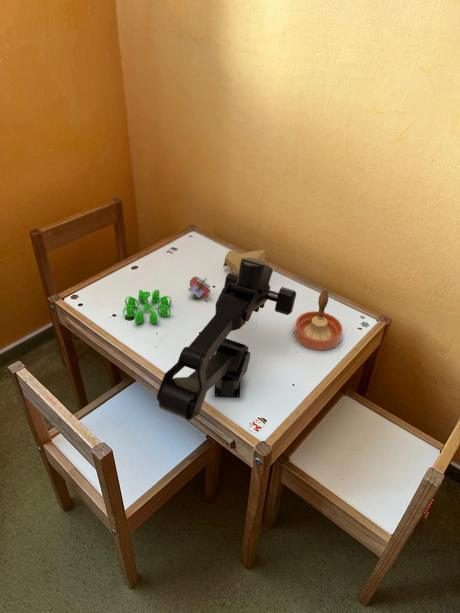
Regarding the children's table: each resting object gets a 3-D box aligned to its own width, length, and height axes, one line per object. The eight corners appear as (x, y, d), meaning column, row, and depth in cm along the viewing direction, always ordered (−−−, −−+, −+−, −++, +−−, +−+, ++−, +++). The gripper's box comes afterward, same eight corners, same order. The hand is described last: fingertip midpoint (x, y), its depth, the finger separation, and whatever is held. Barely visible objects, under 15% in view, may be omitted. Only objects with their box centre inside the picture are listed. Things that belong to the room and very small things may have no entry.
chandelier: (159, 333, 135) (158, 315, 131) (113, 321, 139) (110, 302, 135) (180, 303, 147) (180, 285, 142) (137, 292, 150) (135, 274, 146)
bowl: (343, 352, 132) (345, 342, 129) (296, 350, 132) (298, 340, 129) (336, 321, 142) (338, 312, 140) (292, 319, 142) (294, 310, 140)
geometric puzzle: (219, 290, 149) (206, 269, 147) (207, 301, 144) (194, 279, 142) (204, 295, 154) (192, 274, 151) (192, 306, 149) (179, 285, 147)
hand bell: (300, 340, 134) (308, 296, 124) (305, 322, 141) (313, 279, 131) (329, 347, 133) (339, 302, 123) (333, 328, 139) (343, 285, 129)
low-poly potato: (272, 280, 158) (266, 251, 162) (268, 266, 148) (262, 235, 152) (229, 290, 160) (224, 261, 164) (222, 277, 150) (217, 246, 154)
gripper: (292, 278, 109) (308, 267, 123) (220, 258, 115) (243, 249, 129) (282, 322, 113) (298, 307, 127) (212, 300, 119) (236, 288, 133)
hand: (269, 286), depth 129 cm, fingers open, 9 cm apart
